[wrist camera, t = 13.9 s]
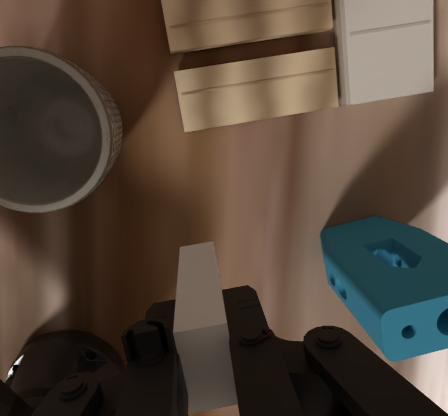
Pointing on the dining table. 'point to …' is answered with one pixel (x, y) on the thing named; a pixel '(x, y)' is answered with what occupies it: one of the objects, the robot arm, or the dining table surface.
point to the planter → (52, 131)
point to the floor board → (383, 49)
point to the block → (391, 283)
